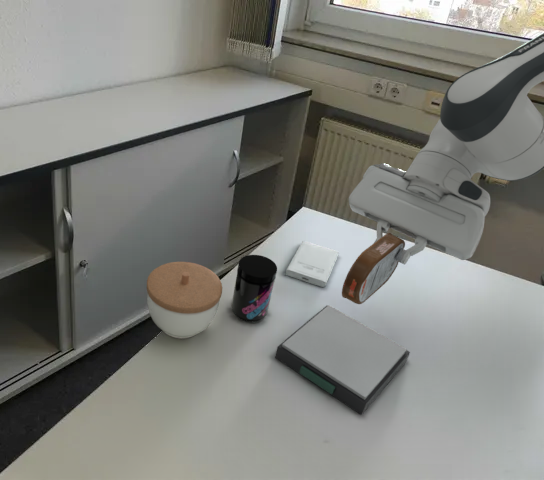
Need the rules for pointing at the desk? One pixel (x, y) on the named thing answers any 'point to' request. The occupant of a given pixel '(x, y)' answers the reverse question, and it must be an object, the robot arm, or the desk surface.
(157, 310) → the lidded bowl
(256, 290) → the supplement container
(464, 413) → the desk surface
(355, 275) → the tin
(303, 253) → the hard drive
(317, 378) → the scale
